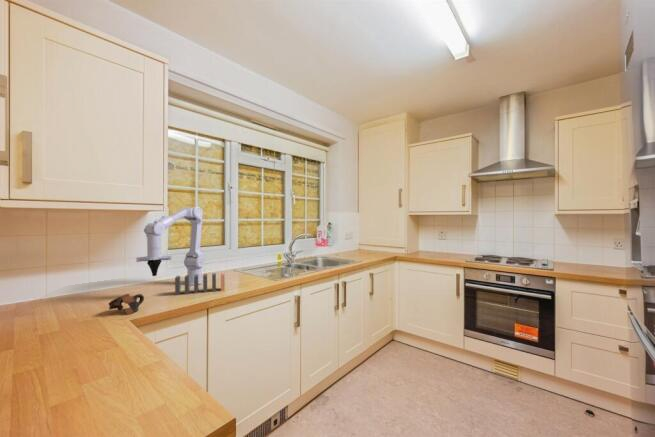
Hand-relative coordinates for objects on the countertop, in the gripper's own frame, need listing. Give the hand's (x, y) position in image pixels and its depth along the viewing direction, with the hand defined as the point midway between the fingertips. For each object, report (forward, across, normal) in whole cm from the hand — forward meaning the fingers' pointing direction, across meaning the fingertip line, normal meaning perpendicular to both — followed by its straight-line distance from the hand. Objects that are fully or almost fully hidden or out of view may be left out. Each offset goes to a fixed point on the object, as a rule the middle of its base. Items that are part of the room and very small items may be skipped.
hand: (154, 275), depth 136 cm
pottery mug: (+10, -6, -21) cm, 24 cm away
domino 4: (+10, +23, 0) cm, 25 cm away
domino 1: (+10, +10, 0) cm, 14 cm away
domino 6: (+10, +31, 0) cm, 33 cm away
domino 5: (+10, +27, 0) cm, 29 cm away
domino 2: (+10, +14, 0) cm, 17 cm away
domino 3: (+10, +18, 0) cm, 21 cm away
